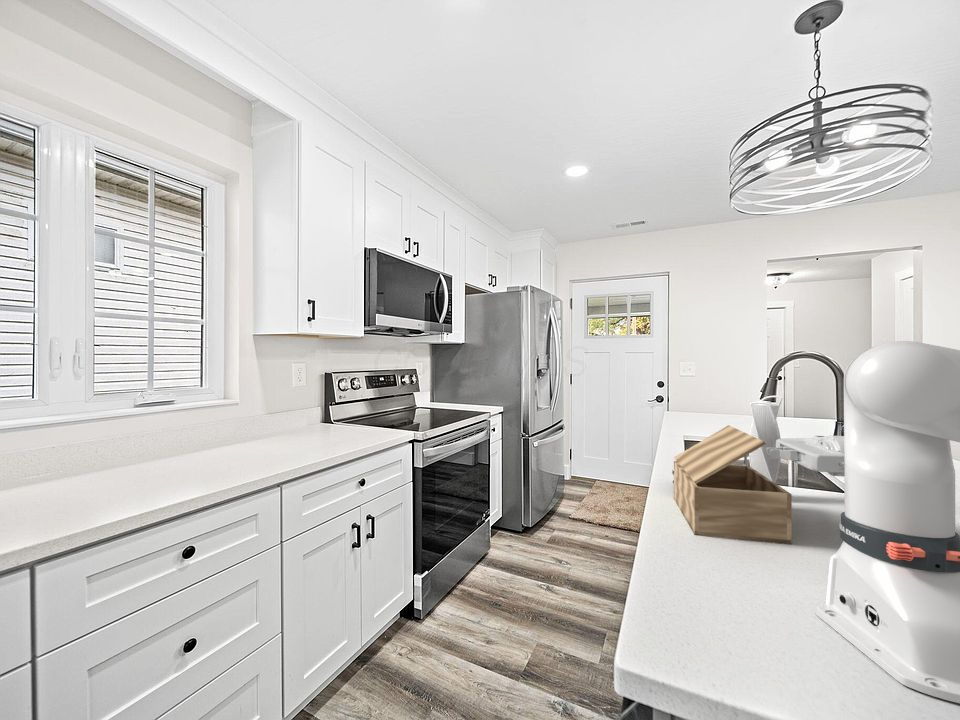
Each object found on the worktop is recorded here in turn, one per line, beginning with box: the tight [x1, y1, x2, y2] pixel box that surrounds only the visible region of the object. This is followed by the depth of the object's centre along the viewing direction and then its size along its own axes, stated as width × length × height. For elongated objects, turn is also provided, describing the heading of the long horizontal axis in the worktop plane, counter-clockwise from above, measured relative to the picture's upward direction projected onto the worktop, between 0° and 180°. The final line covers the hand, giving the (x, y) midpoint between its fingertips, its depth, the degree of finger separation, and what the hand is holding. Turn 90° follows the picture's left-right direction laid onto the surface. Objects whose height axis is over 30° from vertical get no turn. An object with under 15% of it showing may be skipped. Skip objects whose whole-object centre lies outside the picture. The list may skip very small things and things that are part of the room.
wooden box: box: [673, 460, 793, 545], centre depth 103 cm, size 26×18×10 cm
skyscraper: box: [742, 395, 784, 484], centre depth 119 cm, size 8×8×28 cm
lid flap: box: [673, 425, 766, 484], centre depth 103 cm, size 25×16×1 cm
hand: (768, 452), depth 101 cm, fingers closed
